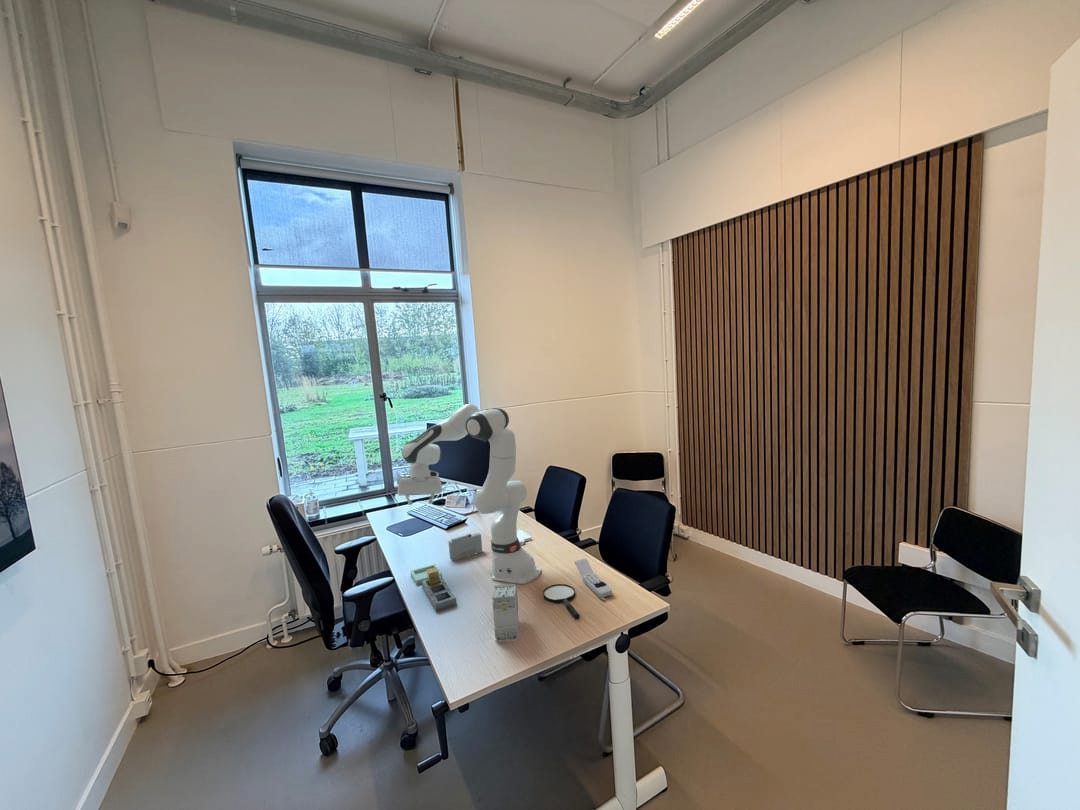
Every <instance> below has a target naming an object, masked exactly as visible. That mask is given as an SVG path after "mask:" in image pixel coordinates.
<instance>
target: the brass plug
mask: <svg viewBox="0 0 1080 810" xmlns="http://www.w3.org/2000/svg"><path fill="white" fill-rule="evenodd" d="M438 569H439V568H438ZM438 569H437V568H436V567H434V568H431V569H427V570H426V572H427V582H428V585H429V586H431V585H434V584H438V583H440V582H439V571H438Z"/></svg>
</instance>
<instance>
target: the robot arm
mask: <svg viewBox="0 0 1080 810" xmlns="http://www.w3.org/2000/svg"><path fill="white" fill-rule="evenodd" d="M509 423H510V416H509V414H508V413H507V411H506V410H505V409H502V408H499V407H498V408H497V407H495V408H493V407H492V408H487V409H484V410H480V409H479V407H478V406H476V405H475V404H473V403H467V404H464V405H463V406H461V407H459V408H458V409H456V410H455V411H454V412H453V413H452V414H451V415H450V416H449V417H447V418H446V419H444V420H443V421H441V422H438V423H436V424H434V425H432V426H430V427H429V428H427V429H426V430H425V431H423V432H422V433H420V434H419V435H417V437H415V438H413V439H412V440H409V441H407V442H406V443H405V444H404V446H403V447H402V450H401V456H402V459H403V460H404V461H405V462H406V463H407V464H410V466H409V475H400V476H398V477H397V479H396V484H397V495H398V496H400V497H403V496H404V497H405V499H406V501H407V504H408V506H411V505H413V500H411V499H410V496H423V495H424V496H426V495H430V499H428V504H429V505H432V504H433V502H434V501H433V499H434V498H435V495H440V494H441V493H442V491H443V486H442V481H441V478H439V475H440V473H439V472H437V471H434V470H430V468H429V466H430V465H435V464H438V463H439V462H440V461H441V459H442V449H441V447H440V446H439V445H438V444H435V443H436V442H441V441H444V442H445V441H447V442H448V441H450V442H451V441H459V440H461V439H463V438H465V437H466V436H468V435H469V436H471V438H473V439H477V440H479V441H481V442H483V443H485V442H488V443H489V447H490V448H489V467H488V473H487V476H486V479H485V480H484V482H483V485H482V487H481V488H480V489H479V491H477V493H476V494H475V495H474V500H473V502H474V503H473V504H474V507H475V508H476V510H477V512H479V513H480V514H482V515H488V514H494V513H496V515H495V517H494V518H493V519H492V520H491V523H490V533H491V541H490V544H491V545H490V547H491V551H492V556H491V557H492V560H491V569H490V575H491V580H492V581H496V582H504V583H509V584H520V585H525V584H528V583H531V582H532V581H534V580H535V579H536V578H538V577H539V576H540V574H541V573H542V569H541V567H539V566H536V562H535V559H534V557H533V556H531V554H530V553H528V552H527V551H526V550H525V549H523V547H522V545H521V544H523V543H522V542H523V541H522V542H519V540H518V538H517V531H518V529H517V524H518V523H517V519H518V516H519V515H518V514H519V512H520V509H521V506H522V505H523V502H524V501H525V500H526V498H527V496H528V490H527V487H526V485H525V483H524V482H522V480H518V479H517V480H510V479H511V478H512V477H513V476H514V475H515V472H516V460H517V445H516V444H517V443H516V436H515V432H513V430H511V429H509V428H507V427H508V425H509Z"/></svg>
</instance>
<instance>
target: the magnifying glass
mask: <svg viewBox="0 0 1080 810" xmlns="http://www.w3.org/2000/svg"><path fill="white" fill-rule="evenodd" d="M542 595H543V599H544V601H547V602H548V603H550V604H556V605H557V604H559V605H561V604H563V605H565V607H566V609H567V611H568V613H570V615H571V616H572V618H573V619H574V620H579V619H580V617H581V616H580V614H579V612H578V611H577V610H576V608H575V607H574V606H573V605H572V604H571V601H573V600H574V598H575V597H576V590H575V588H574V587H573V586H571V585H569V584H565V583H556V584H555V583H554V584H551V585H548V586H547V587H546V588H544V590H543V591H542Z"/></svg>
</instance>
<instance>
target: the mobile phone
mask: <svg viewBox="0 0 1080 810" xmlns="http://www.w3.org/2000/svg"><path fill="white" fill-rule="evenodd" d="M574 565H575V566H576V569H577V571H578V572H579V574H580V577H581V578H582V582H583V583H584V584H585V585H586V586H587V587H588V588H589V590H590V591H591V592H593V594H594V595H596V596H597V597H598V598H600V599H601V601H603V602H605V601H606V599H605V597H609V596H612V594H613V593H612V592H613V591H612V588H611V587H610V586H609V585H608V583H606V582H605V581H604V580H603V579H601V578H600V577H599V576H598V575H597V574H595V573H594V571H593V569H592V567H591V564H590V563H589V561H588V559H587V558H582V559H578V560H577V559H576V560H575V561H574Z"/></svg>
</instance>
